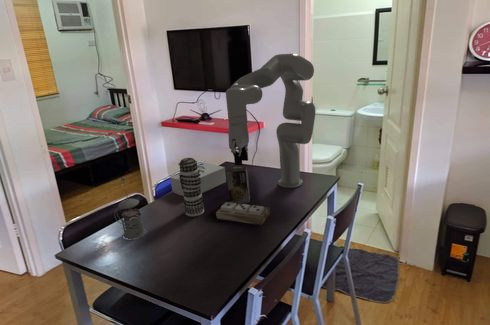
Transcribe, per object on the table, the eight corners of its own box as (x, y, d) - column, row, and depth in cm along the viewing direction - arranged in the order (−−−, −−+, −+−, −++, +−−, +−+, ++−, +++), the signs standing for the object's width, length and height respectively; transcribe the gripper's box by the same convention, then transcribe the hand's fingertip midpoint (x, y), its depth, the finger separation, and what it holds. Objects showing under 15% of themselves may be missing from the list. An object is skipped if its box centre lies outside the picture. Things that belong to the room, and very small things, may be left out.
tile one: (226, 208, 155) (226, 201, 154) (236, 209, 153) (236, 202, 152) (221, 213, 151) (220, 206, 150) (231, 214, 149) (231, 207, 148)
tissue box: (226, 182, 189) (224, 163, 185) (190, 199, 172) (187, 178, 168) (208, 177, 198) (206, 159, 195) (172, 192, 181) (169, 173, 178)
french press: (140, 240, 137) (128, 182, 129) (113, 240, 140) (100, 182, 132) (151, 228, 146) (140, 172, 138) (125, 227, 149) (113, 172, 141)
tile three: (240, 209, 152) (239, 203, 151) (250, 211, 150) (250, 204, 149) (235, 215, 148) (234, 208, 147) (246, 216, 146) (245, 209, 145)
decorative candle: (206, 214, 154) (199, 160, 146) (185, 218, 152) (177, 164, 144) (203, 205, 163) (197, 154, 154) (183, 209, 161) (175, 158, 153)
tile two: (253, 211, 150) (253, 204, 149) (264, 212, 148) (264, 206, 147) (249, 216, 145) (248, 210, 144) (260, 218, 143) (259, 211, 142)
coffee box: (250, 197, 167) (247, 165, 162) (249, 203, 161) (246, 170, 156) (231, 197, 168) (228, 166, 163) (229, 203, 162) (226, 171, 157)
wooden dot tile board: (227, 208, 158) (226, 202, 157) (269, 213, 150) (269, 207, 149) (216, 218, 150) (216, 212, 149) (261, 225, 141) (261, 218, 140)
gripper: (238, 115, 148) (241, 155, 154) (219, 124, 133) (224, 169, 139) (254, 115, 145) (257, 156, 150) (237, 124, 130) (241, 170, 136)
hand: (241, 162), depth 145 cm, fingers open, 5 cm apart
